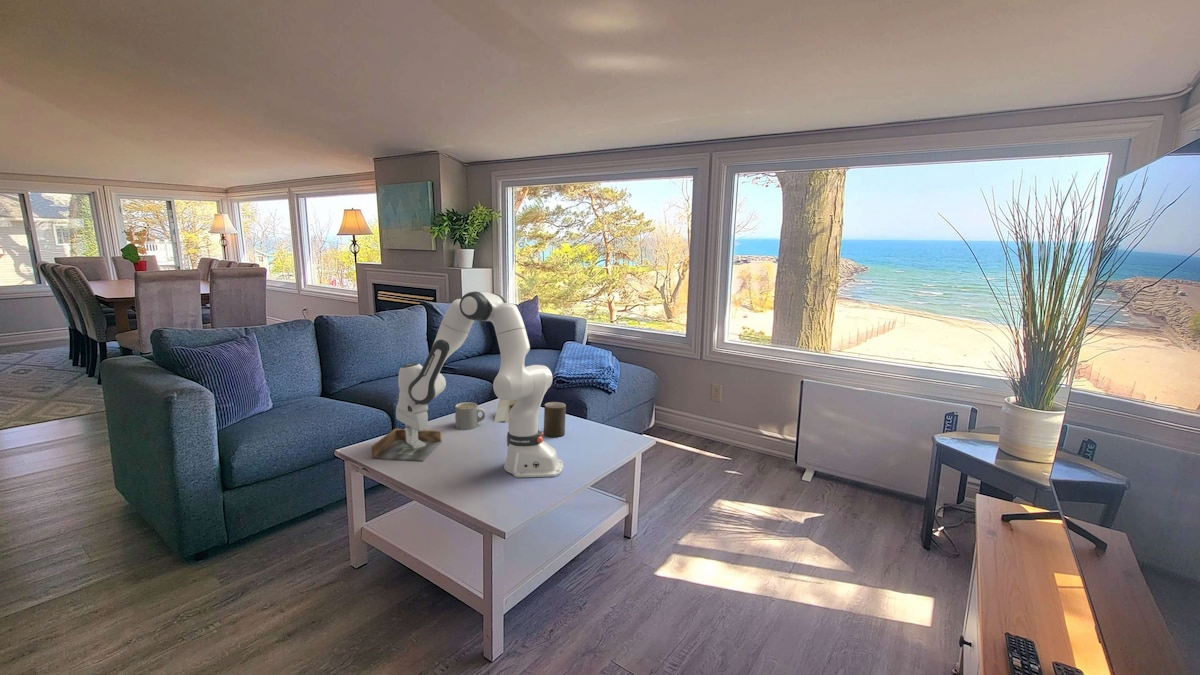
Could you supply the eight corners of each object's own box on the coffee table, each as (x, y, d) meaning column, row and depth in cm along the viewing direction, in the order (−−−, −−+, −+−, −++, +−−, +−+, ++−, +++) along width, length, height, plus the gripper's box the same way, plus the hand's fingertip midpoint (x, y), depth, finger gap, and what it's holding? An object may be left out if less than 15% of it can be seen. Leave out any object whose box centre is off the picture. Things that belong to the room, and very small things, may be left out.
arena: (441, 442, 213) (441, 430, 212) (422, 461, 193) (422, 449, 192) (395, 439, 214) (395, 428, 213) (372, 458, 194) (371, 446, 193)
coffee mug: (453, 429, 228) (453, 408, 226) (458, 422, 238) (457, 402, 236) (483, 430, 229) (483, 409, 227) (486, 422, 239) (486, 402, 237)
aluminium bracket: (405, 443, 203) (404, 427, 201) (417, 440, 206) (416, 424, 205) (413, 449, 198) (413, 432, 197) (425, 445, 202) (425, 429, 200)
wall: (531, 427, 246) (532, 401, 255) (527, 418, 239) (528, 392, 249) (498, 430, 247) (500, 404, 256) (493, 422, 240) (496, 395, 249)
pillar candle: (556, 439, 221) (557, 406, 219) (539, 434, 226) (540, 402, 224) (569, 433, 229) (570, 401, 227) (552, 428, 234) (553, 397, 232)
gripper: (391, 398, 206) (392, 430, 208) (415, 410, 192) (416, 444, 194) (406, 395, 210) (407, 426, 213) (430, 407, 197) (431, 440, 199)
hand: (411, 435), depth 204 cm, fingers closed on aluminium bracket
